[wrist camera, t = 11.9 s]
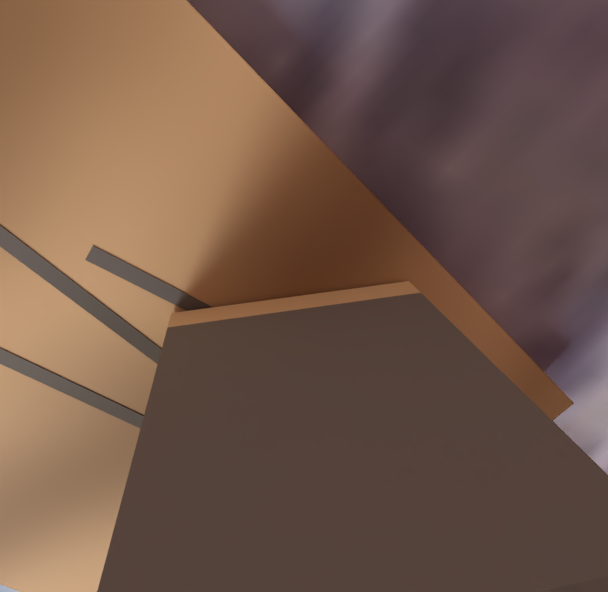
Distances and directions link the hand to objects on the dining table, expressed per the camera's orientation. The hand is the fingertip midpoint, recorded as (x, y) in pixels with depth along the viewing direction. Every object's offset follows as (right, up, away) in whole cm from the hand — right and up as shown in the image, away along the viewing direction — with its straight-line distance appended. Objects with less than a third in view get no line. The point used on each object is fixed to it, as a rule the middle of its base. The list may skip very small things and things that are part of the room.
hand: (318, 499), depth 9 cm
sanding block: (0, 0, +1) cm, 1 cm away
